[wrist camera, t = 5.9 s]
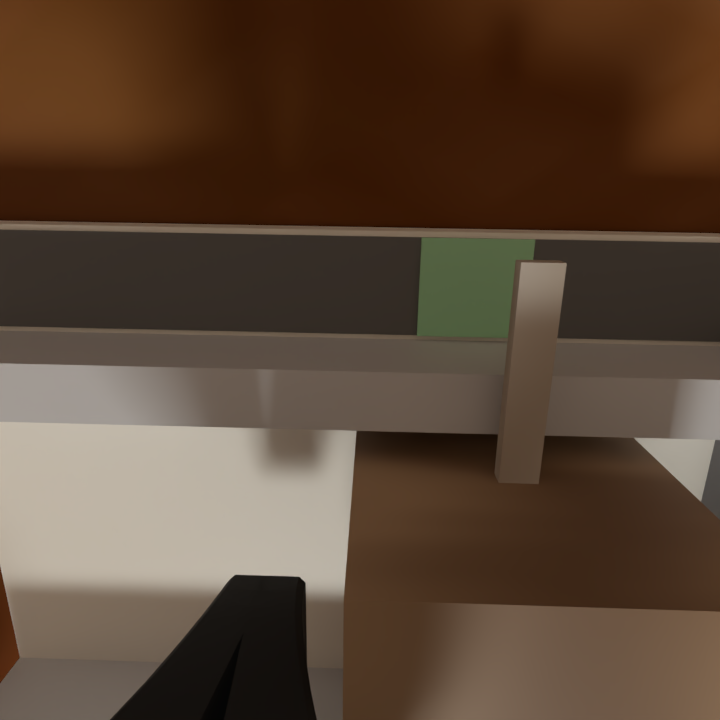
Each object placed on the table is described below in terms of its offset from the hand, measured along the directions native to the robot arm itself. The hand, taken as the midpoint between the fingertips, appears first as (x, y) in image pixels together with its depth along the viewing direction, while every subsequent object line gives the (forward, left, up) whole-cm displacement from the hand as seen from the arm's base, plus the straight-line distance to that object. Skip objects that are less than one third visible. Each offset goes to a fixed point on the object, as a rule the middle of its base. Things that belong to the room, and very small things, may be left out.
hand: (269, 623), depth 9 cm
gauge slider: (+4, +2, -2) cm, 5 cm away
